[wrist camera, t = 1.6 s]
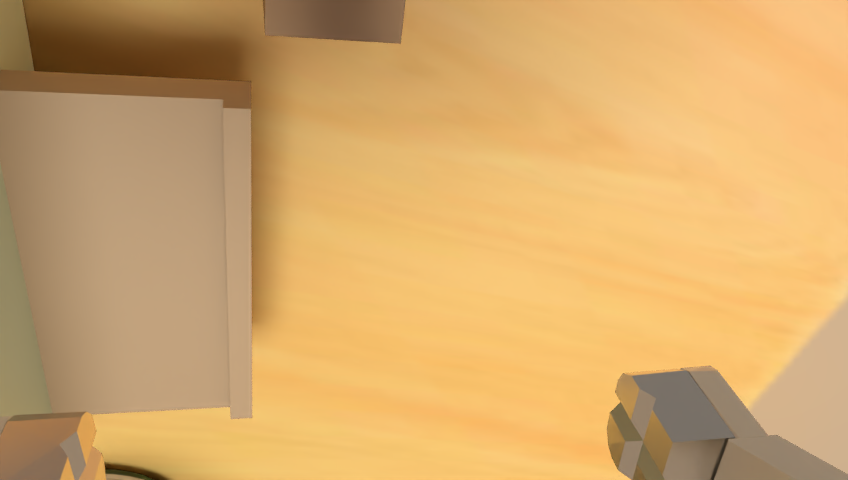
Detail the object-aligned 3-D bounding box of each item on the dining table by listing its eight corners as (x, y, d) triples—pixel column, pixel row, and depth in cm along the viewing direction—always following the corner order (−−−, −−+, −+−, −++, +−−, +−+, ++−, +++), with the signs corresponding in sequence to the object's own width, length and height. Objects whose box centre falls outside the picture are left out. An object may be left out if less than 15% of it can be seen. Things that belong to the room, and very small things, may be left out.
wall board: (-73, -194, 25) (-523, -131, 11) (250, -155, 28) (248, -60, 13) (43, 362, 39) (-83, 726, 24) (252, 354, 42) (252, 679, 27)
